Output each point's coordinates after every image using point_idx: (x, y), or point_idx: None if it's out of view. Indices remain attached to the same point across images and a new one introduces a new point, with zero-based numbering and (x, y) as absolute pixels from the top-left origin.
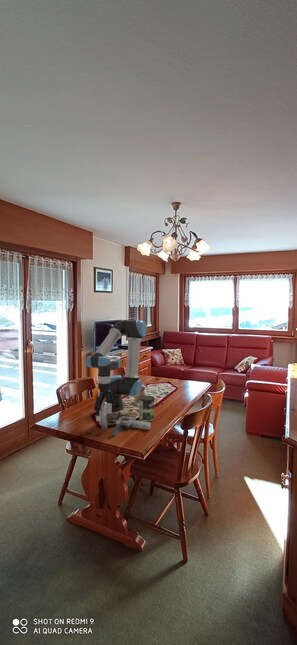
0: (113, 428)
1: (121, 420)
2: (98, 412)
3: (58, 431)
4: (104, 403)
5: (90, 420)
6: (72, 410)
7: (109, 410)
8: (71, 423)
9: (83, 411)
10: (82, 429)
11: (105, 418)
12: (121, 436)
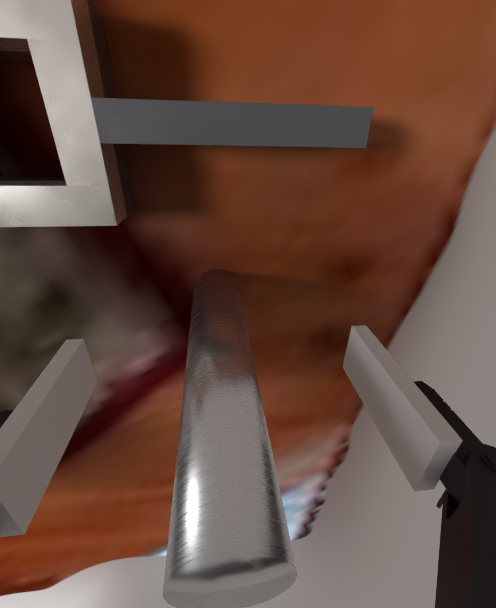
0: (350, 141)
1: (66, 159)
2: (462, 425)
3: (341, 463)
4: (279, 566)
5: (134, 433)
6: (69, 553)
7: (71, 388)
8: None
9: (37, 521)
10: (284, 398)
11: (238, 326)
12: (330, 27)
